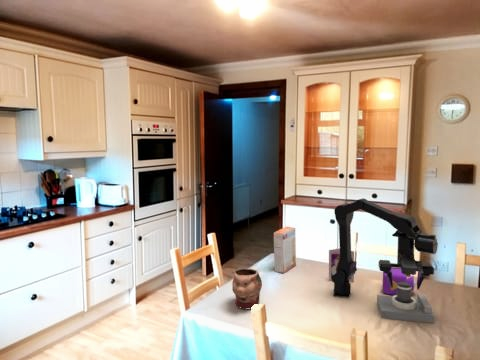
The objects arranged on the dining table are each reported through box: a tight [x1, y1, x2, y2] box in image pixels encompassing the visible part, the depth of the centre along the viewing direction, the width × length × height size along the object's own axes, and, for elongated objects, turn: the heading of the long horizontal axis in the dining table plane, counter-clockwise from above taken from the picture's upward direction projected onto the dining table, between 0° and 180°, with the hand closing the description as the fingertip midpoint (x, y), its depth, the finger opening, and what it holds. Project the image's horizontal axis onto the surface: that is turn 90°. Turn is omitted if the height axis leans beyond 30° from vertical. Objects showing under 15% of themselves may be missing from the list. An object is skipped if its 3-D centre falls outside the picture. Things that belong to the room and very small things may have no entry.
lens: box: [397, 282, 412, 303], centre depth 139 cm, size 5×5×8 cm
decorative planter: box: [231, 268, 263, 309], centre depth 150 cm, size 20×12×14 cm, turn 170°
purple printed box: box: [328, 247, 355, 283], centre depth 173 cm, size 11×7×15 cm, turn 77°
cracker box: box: [273, 226, 297, 274], centre depth 188 cm, size 14×6×21 cm, turn 145°
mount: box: [376, 293, 435, 324], centre depth 140 cm, size 18×14×5 cm
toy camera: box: [382, 268, 417, 296], centre depth 158 cm, size 11×14×10 cm
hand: (404, 288), depth 139 cm, fingers open, 9 cm apart
